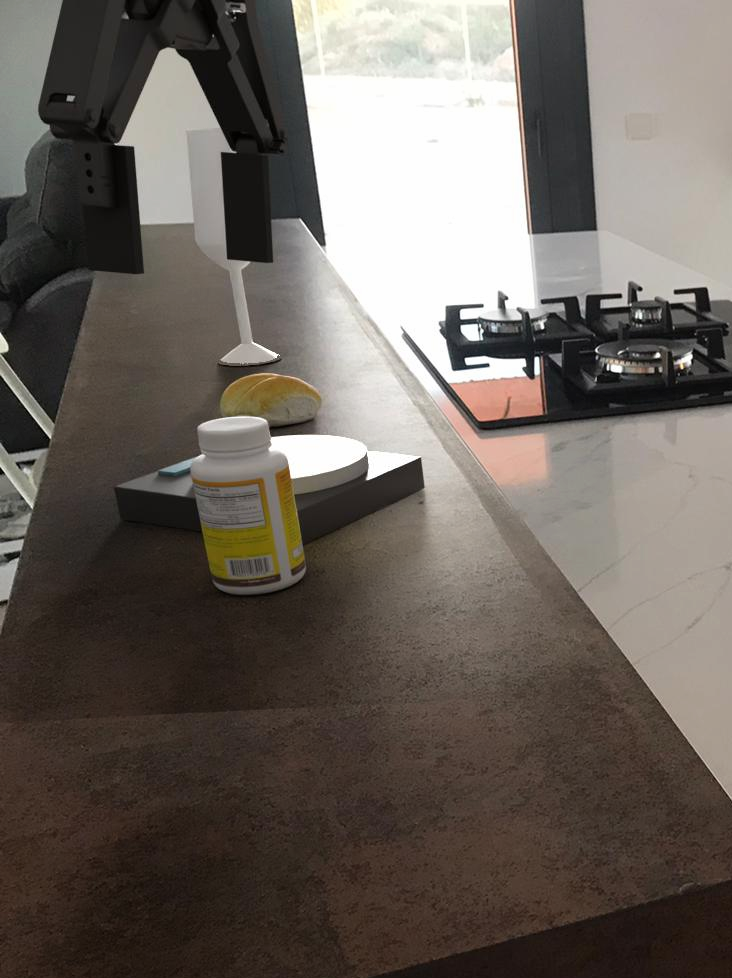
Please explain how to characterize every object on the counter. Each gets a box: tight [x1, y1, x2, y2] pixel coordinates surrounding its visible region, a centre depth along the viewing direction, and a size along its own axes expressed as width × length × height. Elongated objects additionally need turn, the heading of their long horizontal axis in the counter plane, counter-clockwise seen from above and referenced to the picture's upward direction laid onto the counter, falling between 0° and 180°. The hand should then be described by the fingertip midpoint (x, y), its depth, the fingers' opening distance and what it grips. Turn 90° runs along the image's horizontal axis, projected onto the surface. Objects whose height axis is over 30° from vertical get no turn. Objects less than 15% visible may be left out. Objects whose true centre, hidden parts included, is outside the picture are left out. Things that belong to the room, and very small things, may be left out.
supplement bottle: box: [190, 416, 307, 596], centre depth 79 cm, size 6×6×10 cm
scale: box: [113, 434, 426, 546], centre depth 95 cm, size 16×14×4 cm
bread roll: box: [219, 372, 323, 428], centre depth 118 cm, size 8×9×4 cm
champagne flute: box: [185, 127, 279, 364], centre depth 137 cm, size 7×7×24 cm
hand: (189, 266), depth 75 cm, fingers open, 13 cm apart
